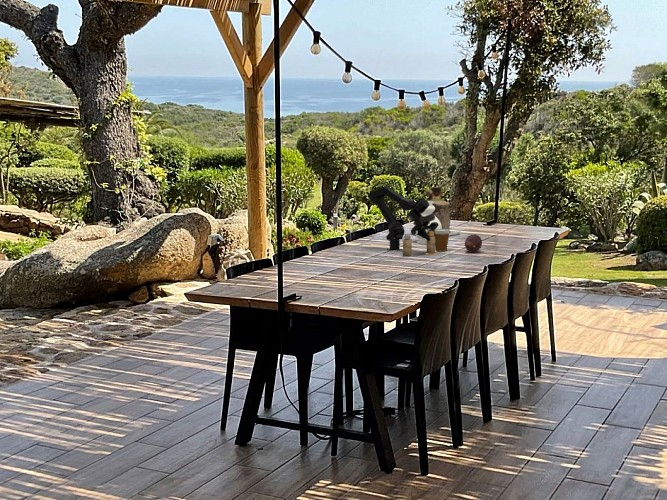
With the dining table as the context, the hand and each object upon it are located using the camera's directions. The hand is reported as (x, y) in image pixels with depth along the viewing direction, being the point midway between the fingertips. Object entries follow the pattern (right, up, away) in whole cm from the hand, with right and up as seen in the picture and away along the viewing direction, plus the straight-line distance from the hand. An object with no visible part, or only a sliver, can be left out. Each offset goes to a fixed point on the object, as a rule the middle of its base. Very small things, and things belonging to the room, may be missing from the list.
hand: (433, 239), depth 478 cm
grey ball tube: (-15, -9, -4) cm, 17 cm away
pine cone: (+25, -7, +15) cm, 30 cm away
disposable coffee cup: (+7, -6, +20) cm, 22 cm away
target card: (-8, -9, -1) cm, 12 cm away
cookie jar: (+11, +4, +85) cm, 86 cm away
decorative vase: (+2, -1, +50) cm, 50 cm away
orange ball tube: (-1, -7, +2) cm, 7 cm away
